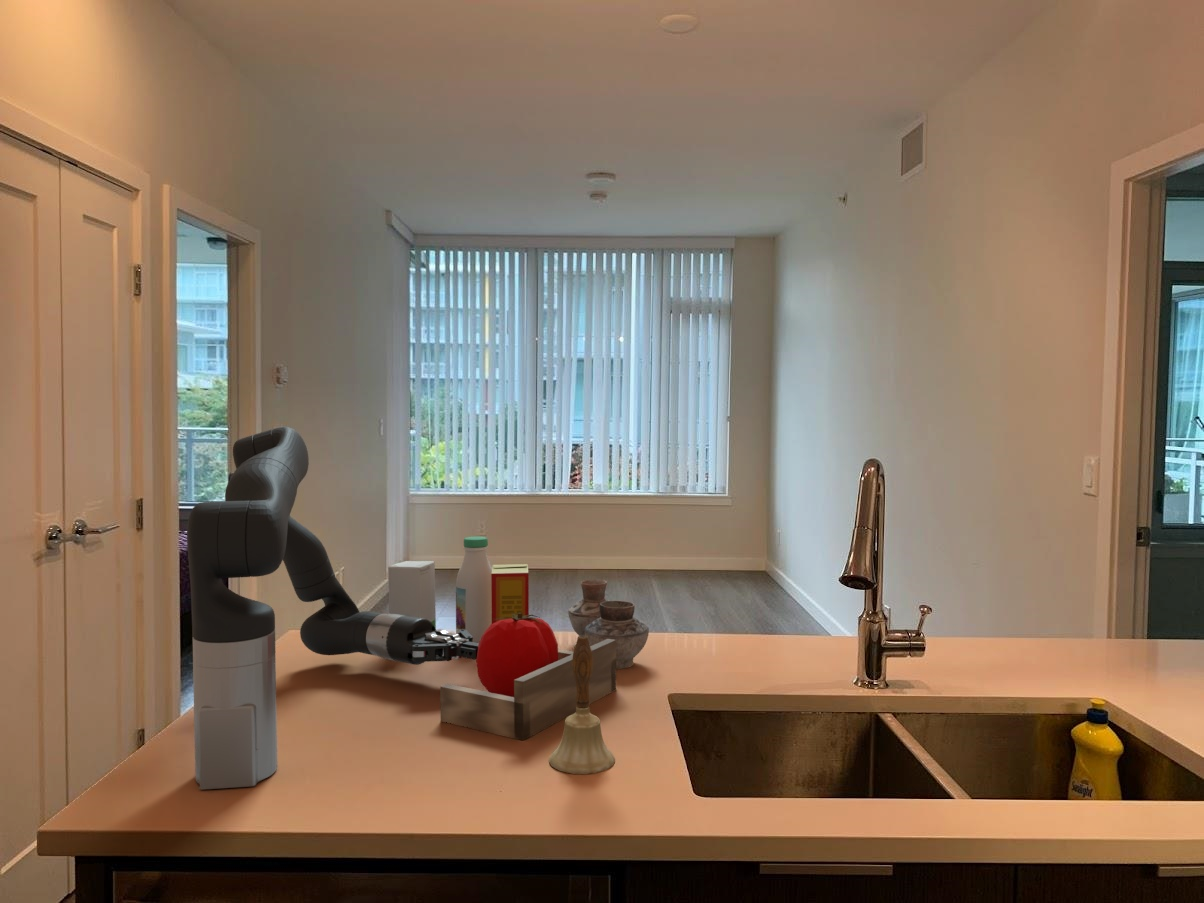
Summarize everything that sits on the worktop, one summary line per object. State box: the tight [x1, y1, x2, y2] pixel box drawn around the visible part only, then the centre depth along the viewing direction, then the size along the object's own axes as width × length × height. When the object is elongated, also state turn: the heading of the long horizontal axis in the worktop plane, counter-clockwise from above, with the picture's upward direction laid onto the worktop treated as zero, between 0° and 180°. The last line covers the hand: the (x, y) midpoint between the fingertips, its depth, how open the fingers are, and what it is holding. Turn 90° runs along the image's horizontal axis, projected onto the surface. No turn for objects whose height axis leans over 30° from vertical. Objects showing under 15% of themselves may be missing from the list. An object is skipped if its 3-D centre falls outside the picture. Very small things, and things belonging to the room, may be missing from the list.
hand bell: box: [548, 635, 616, 775], centre depth 110 cm, size 8×8×16 cm
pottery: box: [567, 578, 650, 670], centre depth 159 cm, size 11×25×12 cm, turn 17°
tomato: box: [475, 613, 559, 697], centre depth 133 cm, size 13×13×13 cm
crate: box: [439, 639, 617, 741], centre depth 131 cm, size 14×25×8 cm, turn 149°
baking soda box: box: [491, 563, 530, 624], centre depth 159 cm, size 10×6×16 cm
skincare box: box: [387, 560, 437, 630], centre depth 165 cm, size 8×7×16 cm
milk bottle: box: [455, 536, 492, 643], centre depth 168 cm, size 8×8×20 cm
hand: (483, 652), depth 136 cm, fingers closed
